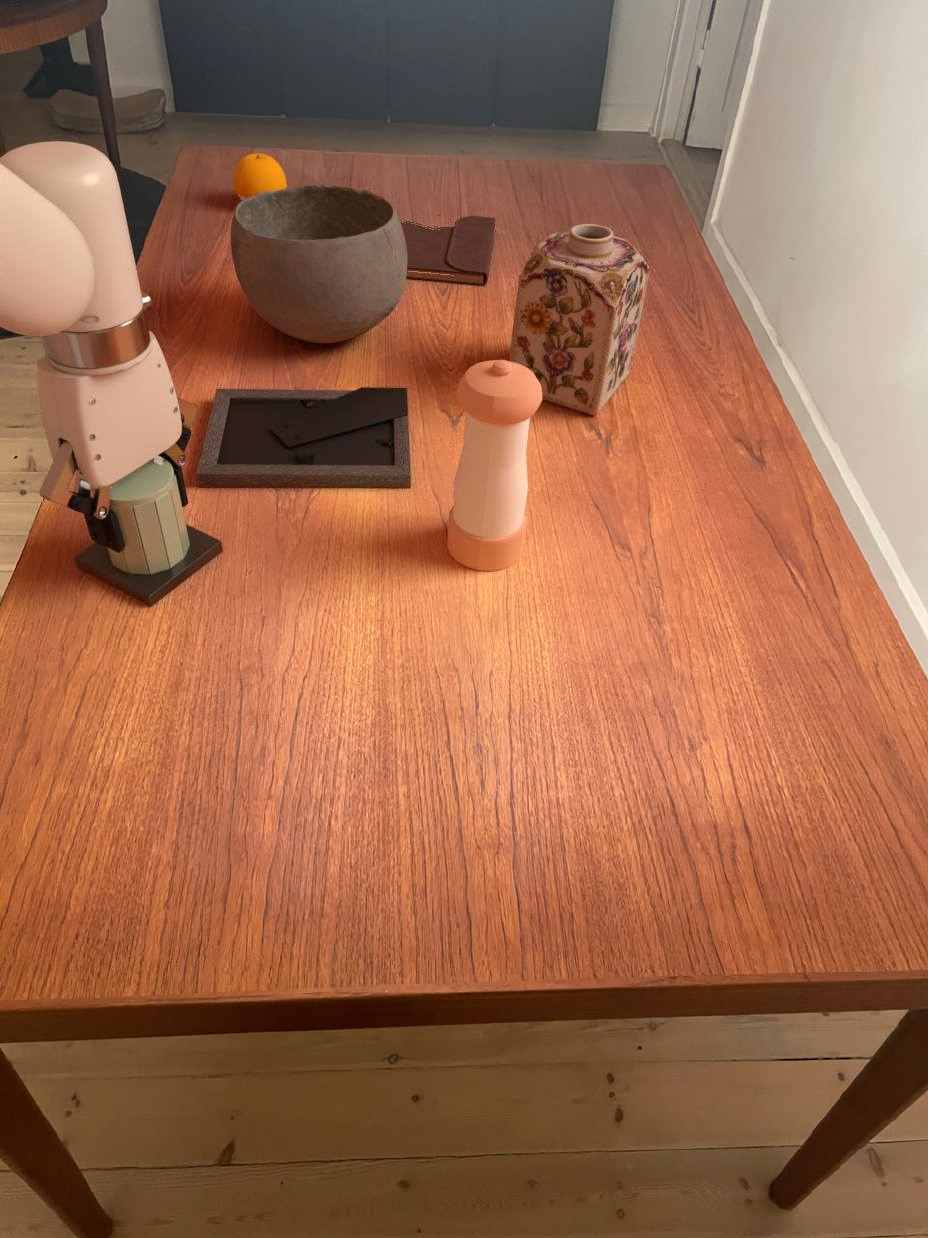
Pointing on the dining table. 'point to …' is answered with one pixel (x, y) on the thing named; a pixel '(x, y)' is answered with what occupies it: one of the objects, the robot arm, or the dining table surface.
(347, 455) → the picture frame
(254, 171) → the orange
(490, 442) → the pepper shaker
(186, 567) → the cup stand
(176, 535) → the cup
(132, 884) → the dining table surface
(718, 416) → the dining table surface
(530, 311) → the decorative jar
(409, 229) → the notebook
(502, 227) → the dining table surface
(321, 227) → the bowl
